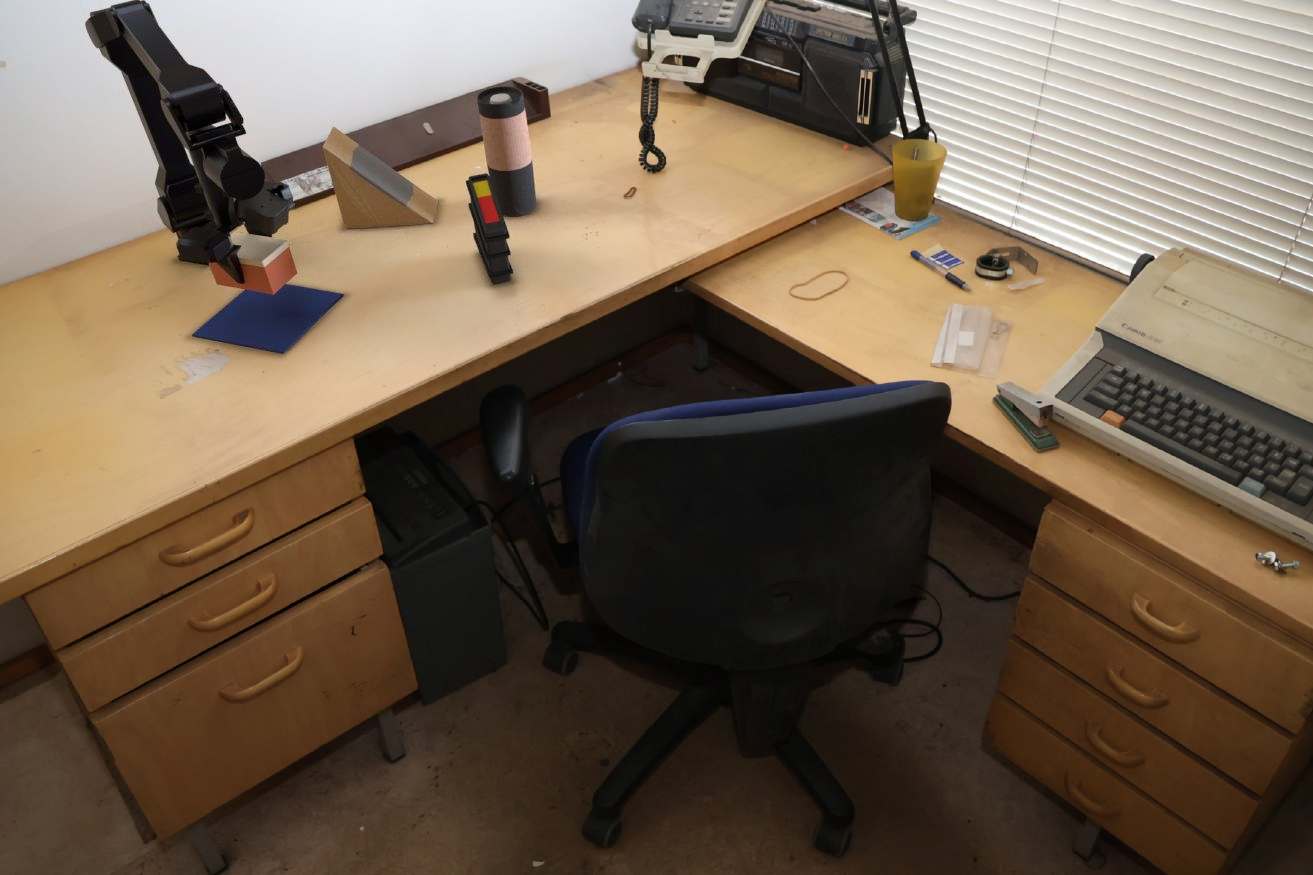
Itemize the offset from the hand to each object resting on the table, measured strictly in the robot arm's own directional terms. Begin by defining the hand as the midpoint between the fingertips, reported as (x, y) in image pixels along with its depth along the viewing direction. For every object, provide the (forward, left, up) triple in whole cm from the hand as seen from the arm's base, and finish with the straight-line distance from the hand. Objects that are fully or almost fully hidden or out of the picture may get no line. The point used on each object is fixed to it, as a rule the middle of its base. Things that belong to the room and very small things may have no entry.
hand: (254, 272), depth 148 cm
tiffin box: (0, 0, -1) cm, 1 cm away
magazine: (+28, +21, -8) cm, 36 cm away
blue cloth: (0, 0, -8) cm, 8 cm away
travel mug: (+22, +41, -8) cm, 47 cm away
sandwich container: (+2, +33, -8) cm, 34 cm away
